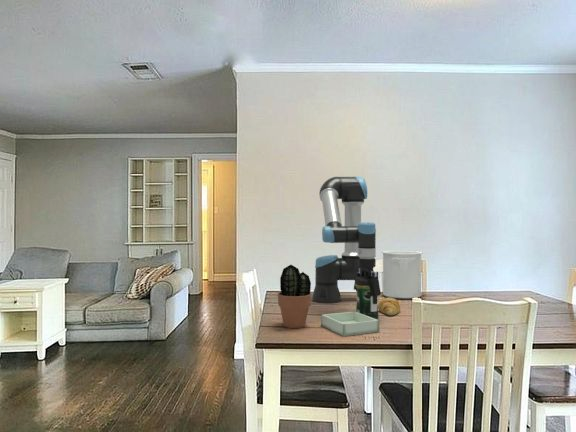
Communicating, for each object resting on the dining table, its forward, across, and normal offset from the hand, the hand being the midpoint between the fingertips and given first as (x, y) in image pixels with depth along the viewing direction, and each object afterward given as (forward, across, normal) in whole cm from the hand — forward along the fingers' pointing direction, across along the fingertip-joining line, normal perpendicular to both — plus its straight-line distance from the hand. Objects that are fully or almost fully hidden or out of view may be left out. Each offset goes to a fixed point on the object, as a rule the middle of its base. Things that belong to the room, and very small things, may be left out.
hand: (366, 308), depth 205 cm
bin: (+4, +12, -16) cm, 20 cm away
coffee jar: (+4, 0, 0) cm, 4 cm away
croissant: (+5, -8, +17) cm, 19 cm away
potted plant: (+4, -2, -34) cm, 34 cm away
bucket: (+4, -37, +47) cm, 60 cm away
